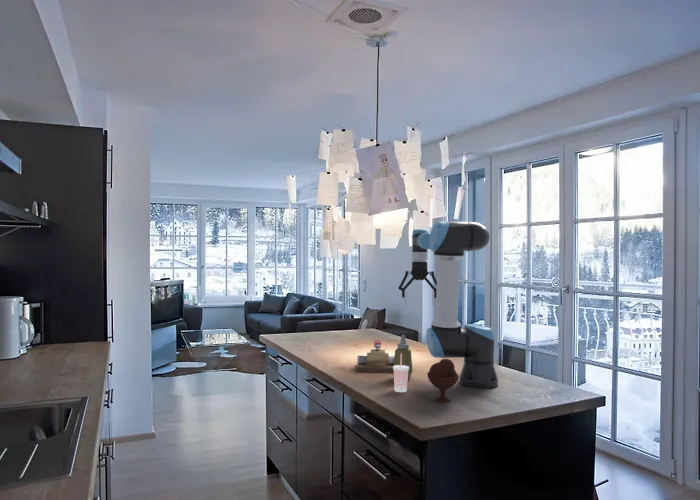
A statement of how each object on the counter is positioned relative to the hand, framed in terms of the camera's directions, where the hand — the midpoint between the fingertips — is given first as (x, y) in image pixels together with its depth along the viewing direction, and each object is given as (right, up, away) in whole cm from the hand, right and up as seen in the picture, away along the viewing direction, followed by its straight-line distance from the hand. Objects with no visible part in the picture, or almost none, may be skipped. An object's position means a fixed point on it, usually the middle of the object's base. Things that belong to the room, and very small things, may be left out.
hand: (419, 304), depth 251 cm
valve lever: (-21, -18, -15) cm, 32 cm away
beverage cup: (-15, -27, -56) cm, 64 cm away
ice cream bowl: (-1, -27, -69) cm, 74 cm away
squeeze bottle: (-12, -27, -38) cm, 48 cm away
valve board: (-21, -26, -21) cm, 40 cm away
